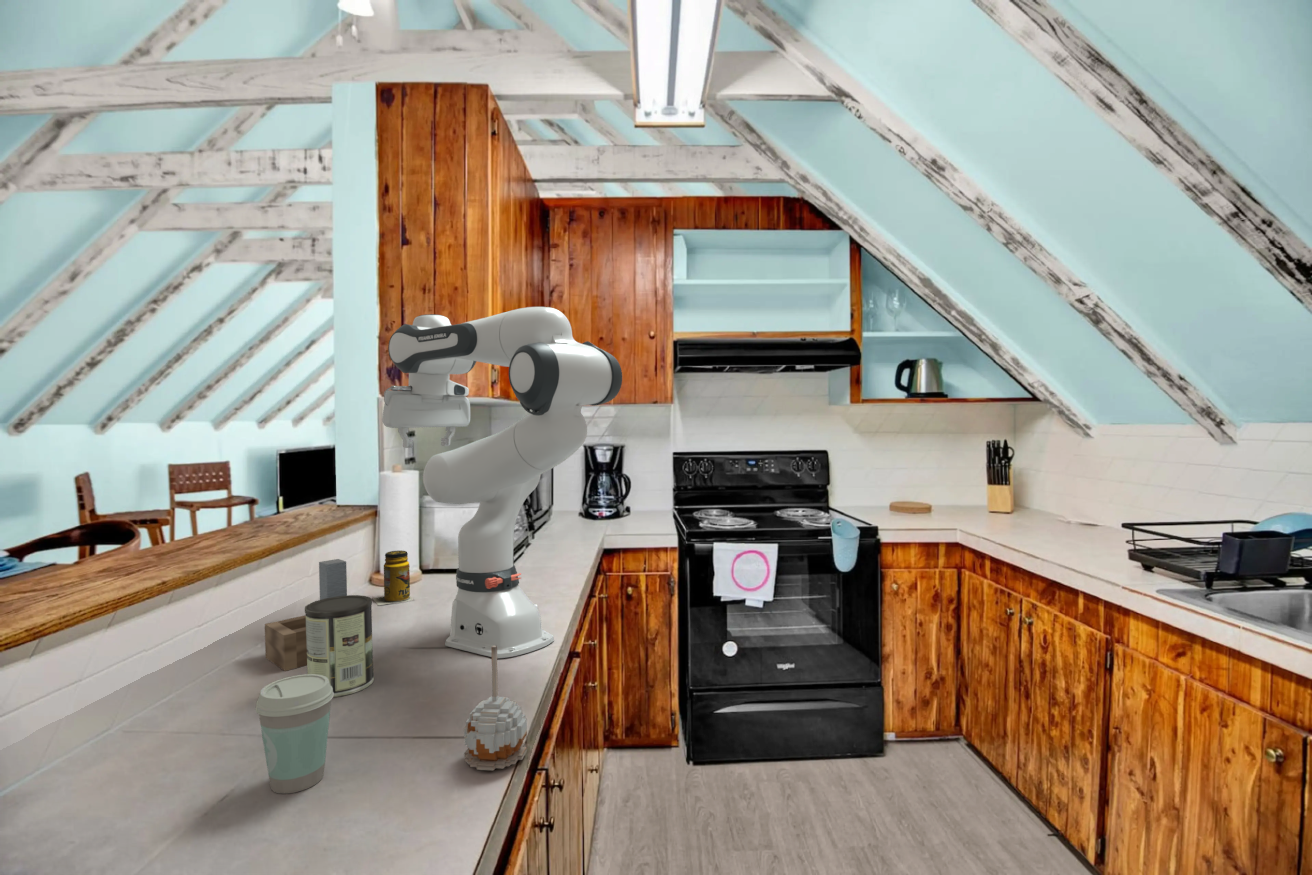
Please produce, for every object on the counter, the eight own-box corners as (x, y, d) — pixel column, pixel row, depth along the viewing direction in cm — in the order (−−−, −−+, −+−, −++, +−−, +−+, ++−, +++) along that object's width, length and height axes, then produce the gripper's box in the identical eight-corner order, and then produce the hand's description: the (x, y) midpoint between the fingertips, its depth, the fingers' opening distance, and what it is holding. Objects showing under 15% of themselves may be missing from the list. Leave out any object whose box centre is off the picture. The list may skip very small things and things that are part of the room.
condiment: (414, 600, 162) (413, 552, 161) (378, 606, 157) (377, 557, 157) (407, 594, 168) (406, 548, 167) (372, 599, 163) (371, 552, 163)
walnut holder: (342, 655, 124) (341, 621, 124) (284, 671, 116) (284, 635, 116) (320, 643, 130) (320, 611, 130) (265, 657, 123) (264, 623, 123)
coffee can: (340, 670, 117) (339, 592, 116) (387, 677, 113) (385, 597, 113) (291, 693, 107) (289, 608, 106) (340, 701, 103) (338, 614, 103)
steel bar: (347, 631, 138) (346, 561, 138) (328, 635, 135) (326, 564, 135) (339, 627, 141) (338, 558, 140) (320, 631, 138) (318, 561, 138)
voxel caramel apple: (478, 742, 90) (476, 635, 90) (533, 744, 89) (531, 637, 89) (455, 772, 82) (453, 656, 82) (515, 775, 82) (513, 657, 81)
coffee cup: (278, 764, 85) (276, 673, 84) (346, 760, 85) (344, 670, 85) (242, 802, 76) (239, 702, 76) (318, 798, 77) (315, 698, 76)
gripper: (391, 386, 138) (389, 450, 140) (475, 388, 153) (472, 446, 155) (377, 384, 142) (376, 446, 144) (460, 387, 158) (458, 443, 159)
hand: (427, 446), depth 149 cm, fingers open, 8 cm apart
